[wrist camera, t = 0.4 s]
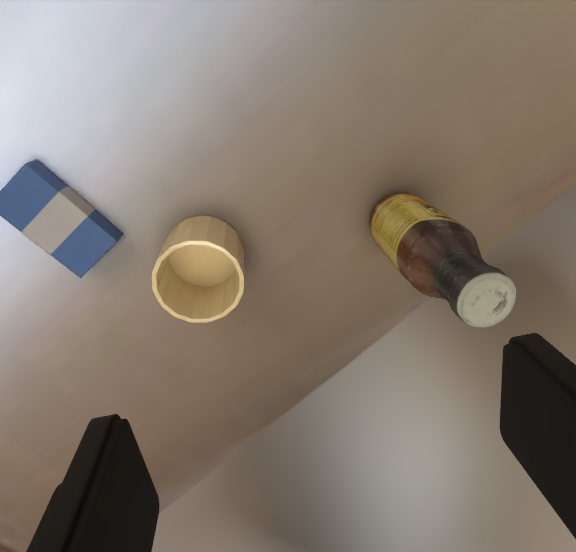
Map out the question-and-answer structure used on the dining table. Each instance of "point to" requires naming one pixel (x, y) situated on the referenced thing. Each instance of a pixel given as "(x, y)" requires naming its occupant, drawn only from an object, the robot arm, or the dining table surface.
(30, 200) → the block
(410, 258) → the sauce bottle
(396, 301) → the dining table surface
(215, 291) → the beige cup
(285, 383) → the dining table surface
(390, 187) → the dining table surface
